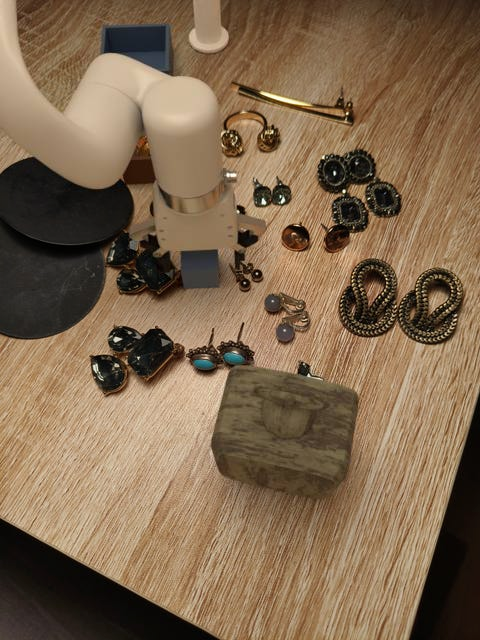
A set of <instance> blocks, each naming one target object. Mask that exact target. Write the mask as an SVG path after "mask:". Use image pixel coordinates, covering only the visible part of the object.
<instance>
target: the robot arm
mask: <svg viewBox="0 0 480 640" xmlns="http://www.w3.org/2000/svg"><path fill="white" fill-rule="evenodd" d="M17 11H18V9H17V0H0V129H1V130H2V131H3V132H4V133H5V134H6V135H7V136H8V137H9V139H11V140H12V141H13V142H14V143H15V144H16V145H18V146H19V148H22V150H24V151H25V152H27V153H29V154H30V155H31V156H32V157H34V158H35V159H36V160H38V161H39V162H40V163H42V164H43V165H44V166H45V167H47V168H49V169H50V170H52V171H53V172H55V174H57V175H59V176H60V177H62V178H64V179H66V180H68V181H69V182H71V183H73V184H75V185H78V186H80V187H82V188H87V189H90V190H103V189H107V188H109V187H111V186H114V185H115V184H116V183H117V182H118V181H119V180H120V179H121V178H123V174H124V172H125V170H126V168H127V166H128V164H129V162H130V160H131V158H132V155H133V153H134V151H135V148H136V146H137V144H138V142H139V139H140V137H141V136H143V135H144V136H146V137H147V142H148V146H149V150H150V155H151V159H152V164H153V168H154V173H155V177H156V180H155V182H154V183H153V186H152V188H153V189H152V206H153V209H152V210H153V217H151V218H149V219H146V220H142V221H140V222H137V223H136V224H133V225H131V226H129V228H128V237H129V238H130V239H131V240H133V241H134V242H135V243H138V244H139V245H138V246H139V247H140V248H142V249H144V250H147V251H148V252H151V253H152V256H153V257H155V258H156V259H157V264H158V266H162V269H163V272H164V274H170V273H171V252H181V251H192V250H212V249H218V250H223V249H224V250H225V249H230V248H231V250H233V255H234V257H233V258H234V269H235V270H236V271H240V270H241V262H246V253H247V252H248V248H249V247H252V246H253V245H255V244H256V243H258V242H259V238H260V237H262V236H263V235H264V234H265V233H266V232H267V220H265V219H262V218H258V217H254V216H251V215H246V214H242V213H239V212H238V207H237V200H236V194H235V190H234V186H233V184H237V183H238V180H237V179H238V174H237V170H230V169H227V168H226V167H224V158H223V144H222V143H223V142H222V130H221V129H222V128H221V127H222V126H221V112H220V105H219V101H218V98H217V96H216V93H215V92H214V90H213V89H212V88H211V87H210V86H209V85H208V84H207V83H205V82H204V81H203V80H200V79H198V78H195V77H193V76H187V75H177V76H173V77H172V76H170V75H168V74H165V73H163V72H160V71H158V70H156V69H154V68H152V67H150V66H147V65H145V64H143V63H141V62H139V61H137V60H134V59H132V58H130V57H127V56H124V55H121V54H116V53H106V54H102V55H100V54H99V55H98V56H97V57H95V58H94V59H93V60H92V62H90V64H89V66H88V67H87V69H86V71H85V73H84V74H83V76H82V78H81V80H80V82H79V84H78V85H77V87H76V89H75V91H74V92H73V93H72V96H71V98H70V99H69V101H68V103H67V105H66V107H65V109H64V110H63V113H62V112H61V111H60V110H59V109H57V108H56V107H55V106H54V105H53V104H52V103H51V102H50V101H49V100H48V99H47V98H46V96H45V95H44V94H43V92H42V91H41V90H40V88H39V87H38V86H37V84H36V82H35V81H34V80H33V78H32V76H31V74H30V71H29V70H28V68H27V65H26V62H25V59H24V56H23V53H22V49H21V43H20V39H19V38H20V37H19V31H18V12H17ZM153 233H155V235H153Z"/></svg>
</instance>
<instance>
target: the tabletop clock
mask: <svg viewBox="0 0 480 640" xmlns="http://www.w3.org/2000/svg"><path fill="white" fill-rule="evenodd" d="M359 404H360V398H359V395H358V392H357V391H356V390H355V389H354V388H353V389H352V388H351V387H347V386H345V385H342V384H338V383H336V382H332V381H327V380H323V379H320V378H315V377H311V376H308V375H307V376H306V375H302V374H299V373H294V372H289V371H283V370H278V369H272V368H267V367H262V366H256V365H255V366H254V365H243V364H235V365H234V366H232V367H231V368H230V369H229V371H228V373H227V376H226V381H225V385H224V389H223V392H222V397H221V401H220V404H219V407H218V412H217V416H216V420H215V424H214V428H213V431H212V434H211V435H212V436H211V439H210V440H211V441H210V449H211V451H212V455H213V458H214V462H215V465H216V468H217V470H218V472H219V473H220V475H221V476H223V477H225V478H226V479H229V480H232V481H235V482H238V483H243V484H247V485H251V486H256V487H259V488H262V489H263V488H264V489H268V490H272V491H276V492H281V493H286V494H288V495H289V494H290V495H294V496H299V497H303V498H308V499H315V500H324V499H327V498H328V497H330V496H331V495H332V494H333V493H334V492H335V491H336V490H337V489H338V487H339V486H340V485H341V484H342V483H343V482H344V480H345V479H346V478H347V476H348V474H349V469H350V463H351V456H352V451H353V444H354V439H355V438H354V437H355V430H356V423H357V418H358V417H357V416H358V411H359Z"/></svg>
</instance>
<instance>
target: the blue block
mask: <svg viewBox="0 0 480 640" xmlns="http://www.w3.org/2000/svg"><path fill="white" fill-rule="evenodd" d="M180 274H181V275H180V276H181V280H182V285H183V289H187V290H189V289H214V288H220V261H219V249H212V250H192V251H180Z"/></svg>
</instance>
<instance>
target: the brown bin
mask: <svg viewBox="0 0 480 640" xmlns="http://www.w3.org/2000/svg"><path fill="white" fill-rule="evenodd" d="M141 137H145V136H144V135H143V136H141ZM122 179H123V182H124V185H142V184H143V185H144V184H145V185H146V184H154V182H155V180H156V177H155V173H154V168H153V164H152V159H151V156H138V157H137V148H135V151H134V153H133V155H132V158H131V160H130V162H129V164H128V166H127V168H126V170H125V172H124V174H123V175H122Z"/></svg>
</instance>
